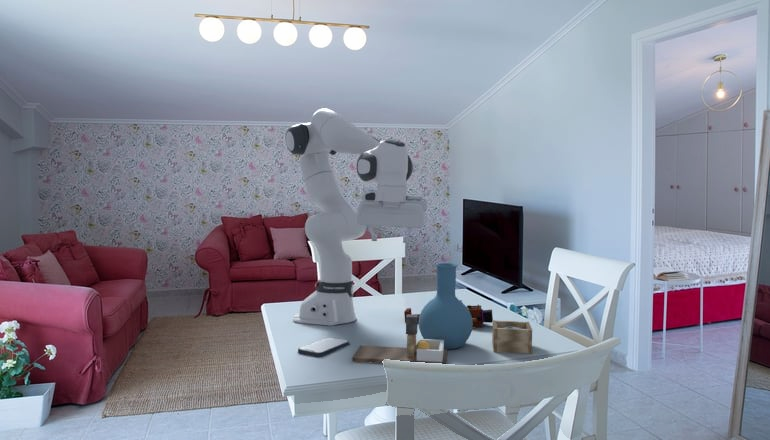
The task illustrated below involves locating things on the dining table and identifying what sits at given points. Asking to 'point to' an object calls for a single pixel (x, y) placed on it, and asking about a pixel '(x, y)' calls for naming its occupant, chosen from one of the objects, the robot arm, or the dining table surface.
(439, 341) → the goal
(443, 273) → the vase
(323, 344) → the phone case
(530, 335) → the box
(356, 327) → the dining table surface
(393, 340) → the dining table surface
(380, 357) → the board
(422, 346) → the ball
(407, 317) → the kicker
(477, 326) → the toy
